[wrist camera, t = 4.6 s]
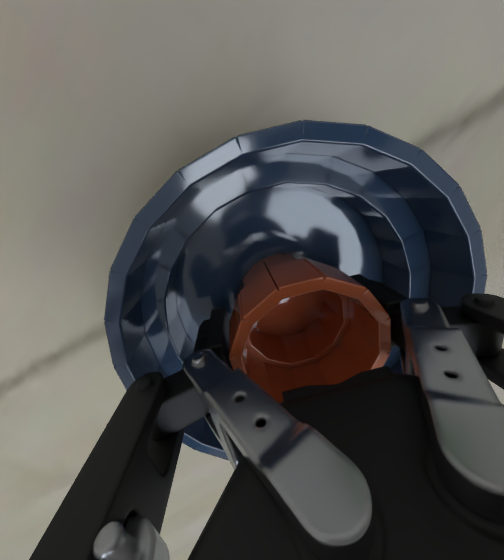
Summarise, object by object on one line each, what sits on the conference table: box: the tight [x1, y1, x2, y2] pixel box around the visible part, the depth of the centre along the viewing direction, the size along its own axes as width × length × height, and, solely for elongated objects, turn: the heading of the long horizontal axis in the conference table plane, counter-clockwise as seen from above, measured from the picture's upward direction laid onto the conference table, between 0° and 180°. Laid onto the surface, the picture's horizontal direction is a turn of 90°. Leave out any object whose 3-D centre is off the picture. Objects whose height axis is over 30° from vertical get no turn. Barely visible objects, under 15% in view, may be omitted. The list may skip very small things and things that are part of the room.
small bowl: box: [229, 253, 391, 403], centre depth 12 cm, size 6×6×6 cm
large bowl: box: [104, 120, 487, 460], centre depth 12 cm, size 16×16×5 cm
